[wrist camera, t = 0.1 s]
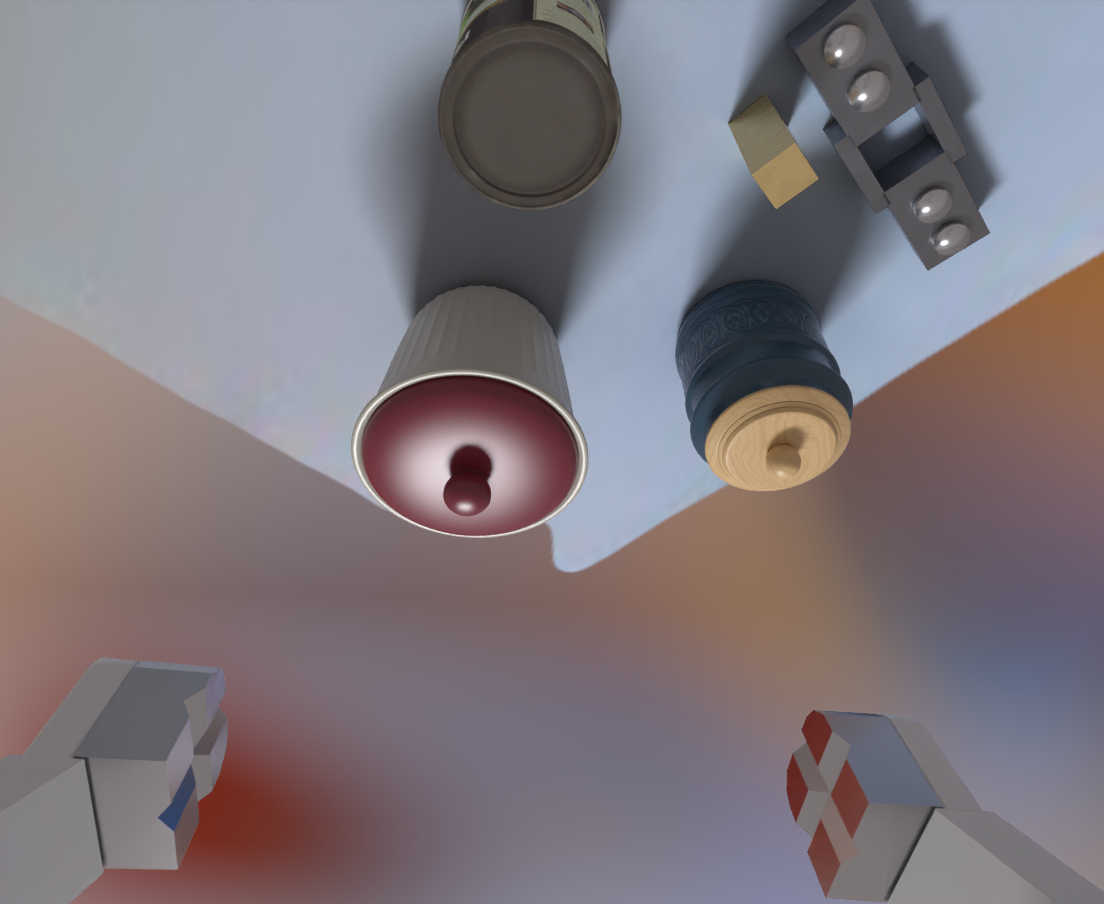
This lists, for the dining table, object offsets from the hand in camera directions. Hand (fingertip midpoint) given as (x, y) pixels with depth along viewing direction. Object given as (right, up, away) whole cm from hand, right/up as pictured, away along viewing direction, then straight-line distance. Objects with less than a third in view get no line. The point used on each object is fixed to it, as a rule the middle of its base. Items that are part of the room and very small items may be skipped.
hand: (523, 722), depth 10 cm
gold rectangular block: (+16, +28, +45) cm, 56 cm away
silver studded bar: (+26, +28, +46) cm, 59 cm away
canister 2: (+18, +15, +59) cm, 63 cm away
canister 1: (-6, +15, +59) cm, 61 cm away
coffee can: (-1, +32, +42) cm, 53 cm away
